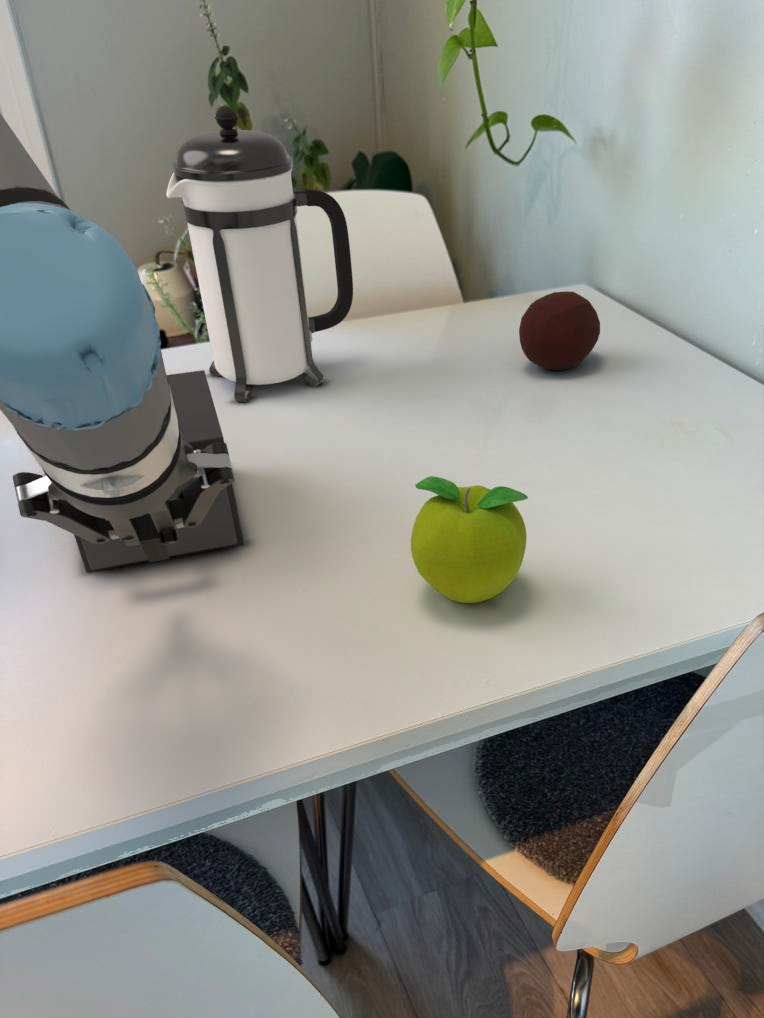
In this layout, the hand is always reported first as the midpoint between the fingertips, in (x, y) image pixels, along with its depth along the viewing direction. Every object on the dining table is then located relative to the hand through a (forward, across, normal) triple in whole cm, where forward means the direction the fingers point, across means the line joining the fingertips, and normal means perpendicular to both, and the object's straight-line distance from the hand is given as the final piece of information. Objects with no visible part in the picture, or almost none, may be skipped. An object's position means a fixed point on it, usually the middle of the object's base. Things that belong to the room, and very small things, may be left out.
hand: (156, 543), depth 72 cm
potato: (+33, +51, +22) cm, 65 cm away
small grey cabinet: (+17, 0, +7) cm, 18 cm away
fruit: (+2, +24, -9) cm, 26 cm away
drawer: (+13, 0, +5) cm, 14 cm away
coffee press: (+39, +16, +29) cm, 51 cm away
